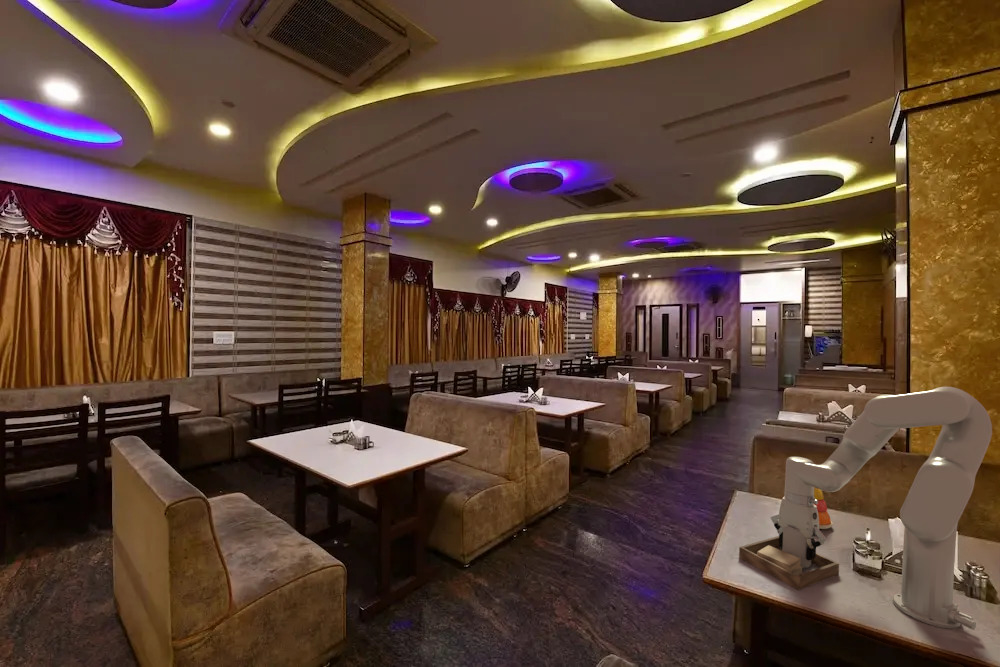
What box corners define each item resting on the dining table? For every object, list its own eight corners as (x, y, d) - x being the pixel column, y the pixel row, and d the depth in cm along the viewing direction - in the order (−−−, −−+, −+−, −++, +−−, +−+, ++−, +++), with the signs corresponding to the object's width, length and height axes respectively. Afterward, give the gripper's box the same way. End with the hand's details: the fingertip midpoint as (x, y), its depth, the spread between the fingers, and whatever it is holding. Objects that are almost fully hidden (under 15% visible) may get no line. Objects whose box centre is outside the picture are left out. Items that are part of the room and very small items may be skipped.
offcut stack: (804, 574, 127) (805, 560, 127) (786, 581, 123) (786, 566, 123) (771, 557, 136) (771, 544, 136) (752, 563, 133) (753, 549, 133)
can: (798, 571, 129) (799, 532, 129) (776, 558, 136) (777, 521, 136) (816, 568, 131) (818, 530, 131) (794, 555, 138) (795, 519, 138)
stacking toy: (837, 535, 153) (839, 482, 153) (790, 526, 160) (792, 475, 159) (827, 519, 166) (829, 470, 166) (784, 512, 172) (785, 464, 172)
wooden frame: (838, 574, 128) (839, 563, 128) (798, 590, 119) (798, 577, 119) (778, 546, 144) (778, 535, 144) (739, 557, 136) (739, 546, 136)
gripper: (837, 506, 127) (834, 564, 127) (778, 486, 143) (776, 537, 143) (822, 510, 124) (819, 569, 124) (764, 489, 140) (761, 541, 140)
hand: (796, 552), depth 134 cm, fingers closed on can, 7 cm apart
